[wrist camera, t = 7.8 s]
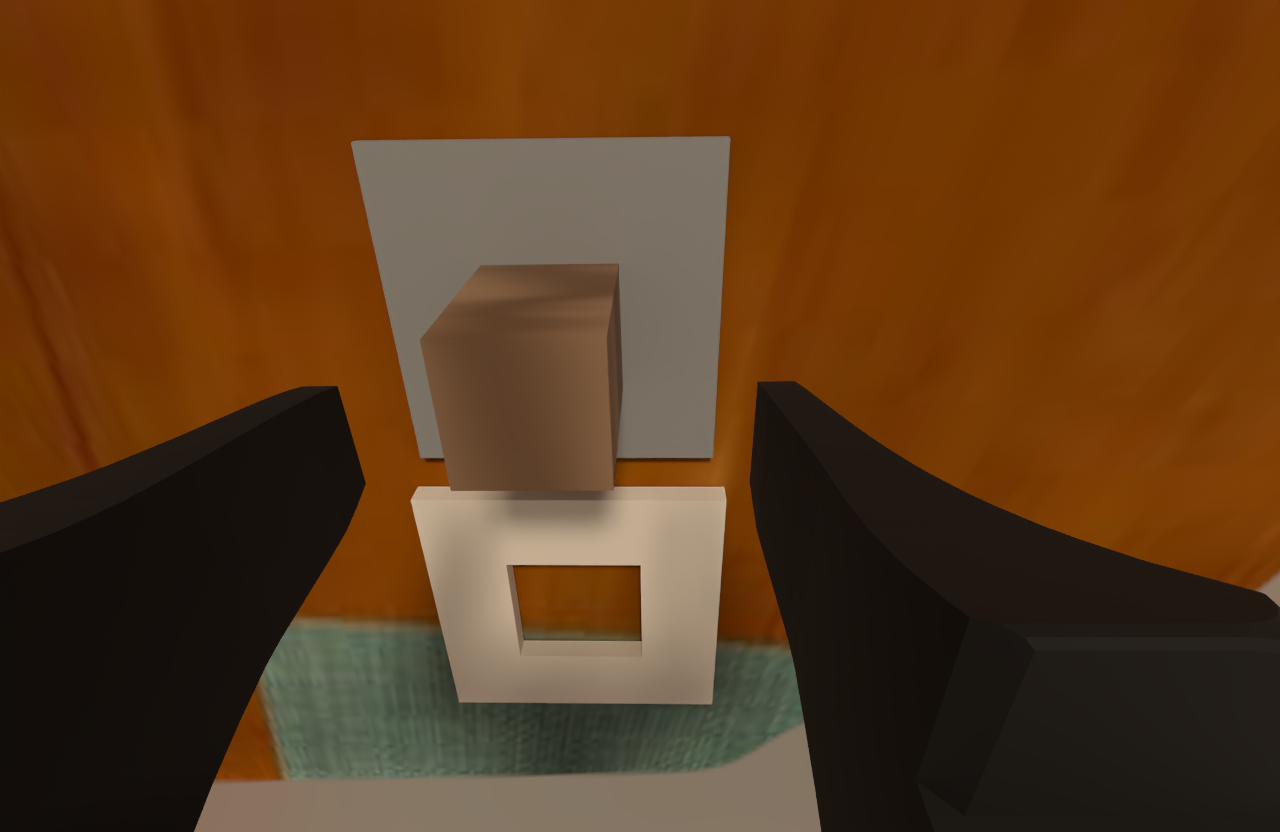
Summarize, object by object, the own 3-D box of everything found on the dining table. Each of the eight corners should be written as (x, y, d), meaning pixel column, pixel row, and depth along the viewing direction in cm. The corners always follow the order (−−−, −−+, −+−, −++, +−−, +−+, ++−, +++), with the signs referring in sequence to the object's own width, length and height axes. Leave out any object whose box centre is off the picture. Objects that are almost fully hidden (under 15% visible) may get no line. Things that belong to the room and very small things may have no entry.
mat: (729, 136, 17) (730, 137, 16) (712, 451, 22) (712, 457, 21) (356, 140, 17) (351, 142, 17) (424, 451, 22) (420, 457, 22)
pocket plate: (724, 486, 23) (726, 500, 22) (710, 688, 28) (712, 704, 27) (418, 486, 23) (410, 500, 22) (463, 686, 28) (459, 702, 28)
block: (618, 263, 18) (606, 337, 13) (623, 387, 20) (613, 490, 15) (480, 265, 18) (419, 339, 14) (498, 387, 20) (450, 490, 16)
